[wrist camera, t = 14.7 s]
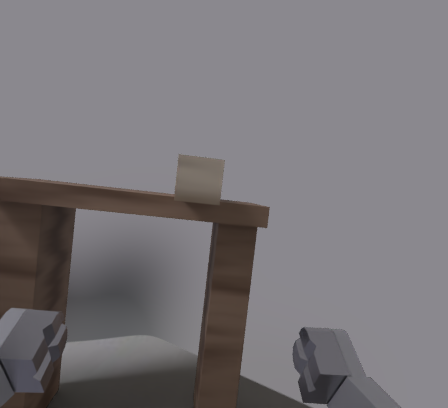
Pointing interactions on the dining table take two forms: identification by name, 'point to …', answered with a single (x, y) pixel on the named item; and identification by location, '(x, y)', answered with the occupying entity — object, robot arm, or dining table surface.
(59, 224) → the walnut shelf
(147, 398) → the dining table surface
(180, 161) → the birch bar
